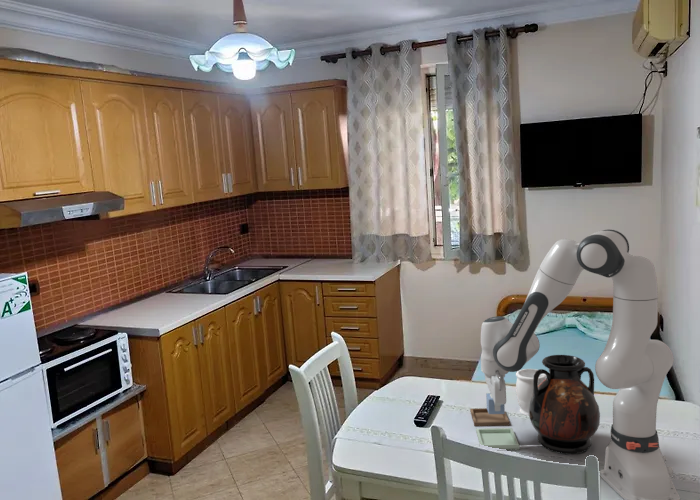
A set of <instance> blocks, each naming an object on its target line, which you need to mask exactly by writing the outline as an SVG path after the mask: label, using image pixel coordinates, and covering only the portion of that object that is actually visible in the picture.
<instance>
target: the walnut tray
mask: <svg viewBox="0 0 700 500" xmlns="http://www.w3.org/2000/svg"><path fill="white" fill-rule="evenodd" d="M469 410H470V415H471V419H472V422H473V425H474V427H502V426H503V427H504V426H505V427H507V426H509V427H510V421H509V418H508V416H507V413H506V412H505V414H489V413H488V410H487V407H486V408H485V407H482V408H481V407H480V408H469Z"/></svg>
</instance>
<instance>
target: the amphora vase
mask: <svg viewBox="0 0 700 500" xmlns="http://www.w3.org/2000/svg"><path fill="white" fill-rule="evenodd" d="M541 363H542V365H543V366H544V367H545V368H547V369H548V370H546V369H542V368H541V369H537V371H536V372H535V374H534V378H533V395H532V397H531V400H530V405H529V417H528V418H529V420H530V423H531V425H532V427H533V428H534V430H535V431H536V432H537V436H536V438H537V441H538V443H539V444H540V445H541V446H542V447H543V448H545V449H546V450H549V451H551V452H555V453H557V454H563V455H573V454H574V455H576V454H580V453H584V452H586V451H587V450H589V449H590V448H591V447H592V439H591V438H592V437H593V436H594V434H595V433H596V432H597V431H598V430H599V427H600V422H601V421H600V420H601V413H600V406H599V404H598V402H597V400H596V397H595V375H594V372H593V371H592V369H591V368H590V367H587V366H586V362H585V361H584V360H583V359H582V358H580V357H578V356H574V355H569V354H553V355H548V356H546V357H545V356H544V358H543V359H542V361H541ZM585 372H587V373H588V378H589V381H588V386H587V385H586V383H585V382H584V381H583V380H582V375H583V374H584V373H585ZM540 374H546V378H545V380H544V381H543V382H542V383H540V384H539V385H538V384H537V383H538V377H539V375H540Z"/></svg>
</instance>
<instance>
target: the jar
mask: <svg viewBox="0 0 700 500" xmlns="http://www.w3.org/2000/svg"><path fill="white" fill-rule="evenodd" d="M537 370H538V369H537V368H523V369H522V368H521V369H520V370H519V371H516V372H515V377H516V382H515V383H516V384H515V390H516V391H515V392H516V393H515V394H516V396H517V397H516V398H517V402H518V405H519V413H520V414H522V415H525V416H529V405H530V400H531V397H532V395H533V378H534V374H535V372H536V371H537ZM545 379H546V374H540V375H539V377H538V383H537V384H538V385H539V384H540V383H542V382H543V381H544V380H545Z"/></svg>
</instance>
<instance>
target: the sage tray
mask: <svg viewBox="0 0 700 500" xmlns="http://www.w3.org/2000/svg"><path fill="white" fill-rule="evenodd" d="M475 433H476V437H477V440H478V443H479V445H480V444H481V445H484V446H488V447H492V448H499V449H506V450H505V451H520V444H519V442H518V439H517V437H516V434H515V431H514V429H513V428H512V427H506V428H505V427H503V428H499V427H498V428H497V427H496V428H476V429H475Z"/></svg>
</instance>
